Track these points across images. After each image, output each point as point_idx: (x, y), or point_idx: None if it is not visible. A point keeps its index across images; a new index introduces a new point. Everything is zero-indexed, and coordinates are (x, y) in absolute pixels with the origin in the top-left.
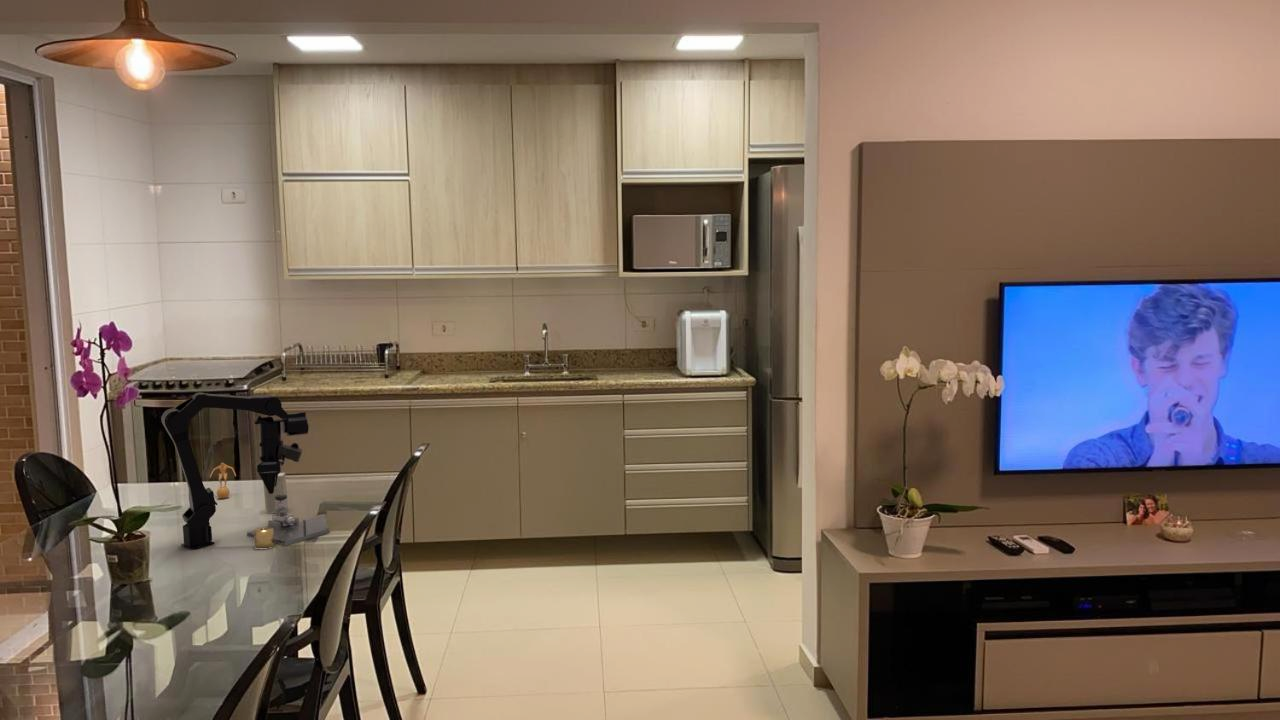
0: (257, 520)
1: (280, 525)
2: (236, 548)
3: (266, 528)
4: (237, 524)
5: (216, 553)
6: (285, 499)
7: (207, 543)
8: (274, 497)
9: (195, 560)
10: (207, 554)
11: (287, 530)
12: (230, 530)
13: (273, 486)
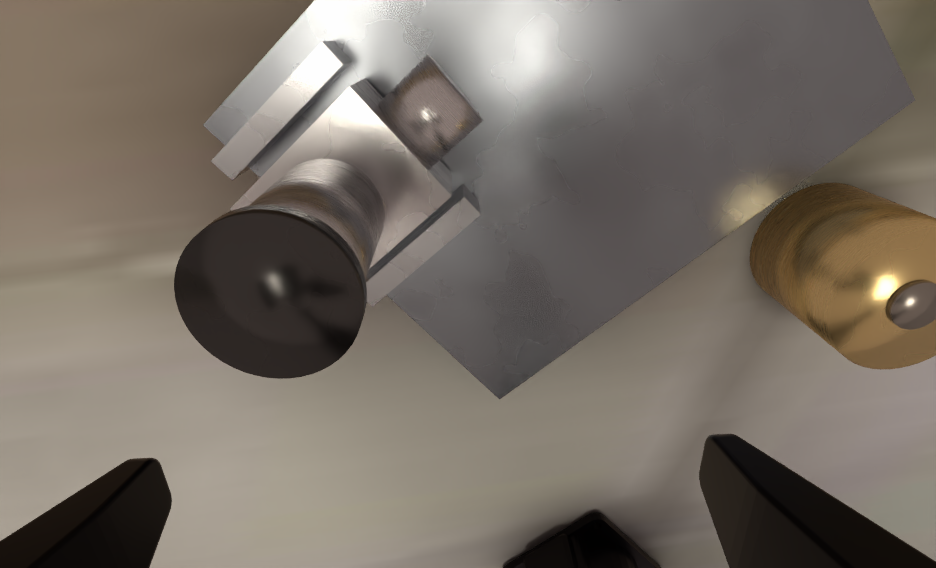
0: (89, 378)
1: (466, 193)
2: (749, 397)
3: (932, 283)
4: (185, 470)
5: None
6: (316, 219)
7: (613, 540)
8: (312, 369)
9: None
10: None
11: (564, 119)
12: (322, 482)
13: (876, 537)
